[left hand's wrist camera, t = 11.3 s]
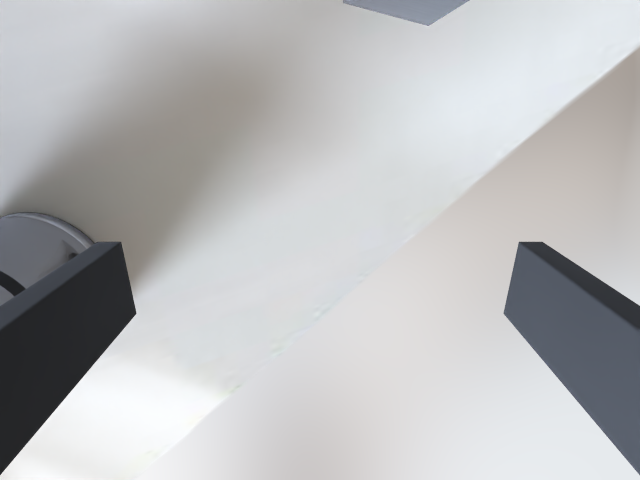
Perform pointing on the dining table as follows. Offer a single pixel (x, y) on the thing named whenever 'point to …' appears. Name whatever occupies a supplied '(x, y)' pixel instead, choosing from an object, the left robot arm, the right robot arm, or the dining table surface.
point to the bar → (410, 8)
